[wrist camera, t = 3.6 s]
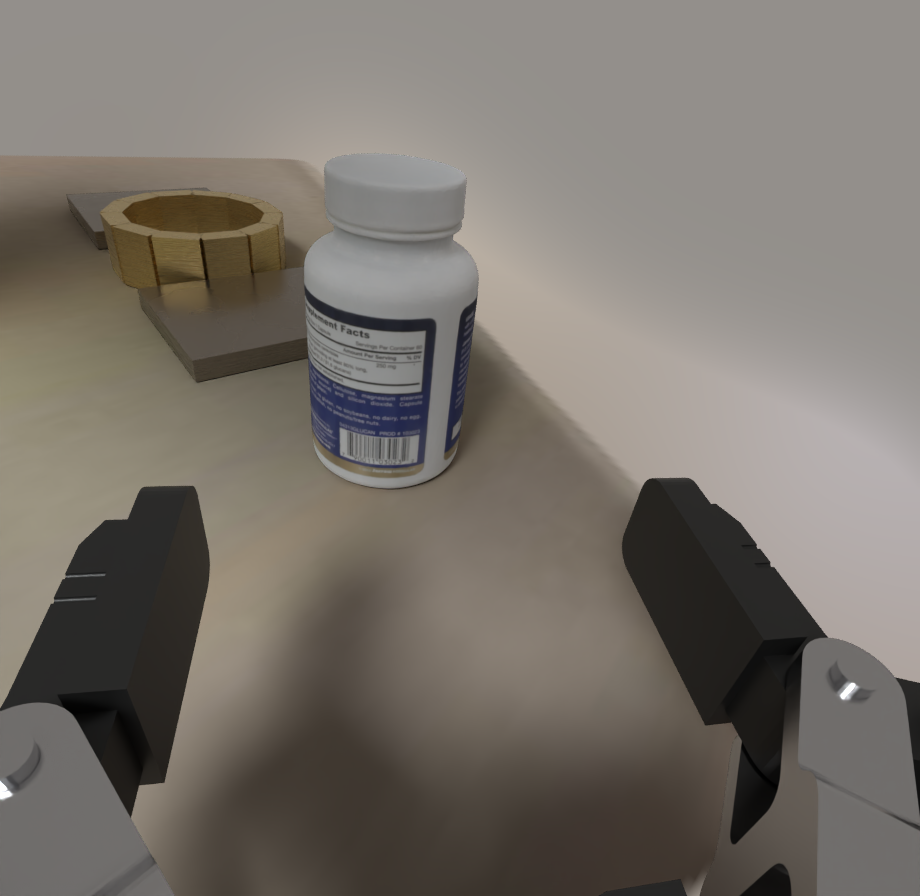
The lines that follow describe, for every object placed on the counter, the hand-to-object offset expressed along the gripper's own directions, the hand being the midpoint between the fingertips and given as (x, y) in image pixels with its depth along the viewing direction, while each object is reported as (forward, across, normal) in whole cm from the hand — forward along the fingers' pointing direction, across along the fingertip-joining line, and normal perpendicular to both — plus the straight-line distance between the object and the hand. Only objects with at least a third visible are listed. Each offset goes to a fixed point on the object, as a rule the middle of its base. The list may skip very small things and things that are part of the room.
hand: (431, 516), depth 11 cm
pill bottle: (+10, 0, +6) cm, 12 cm away
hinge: (+28, +9, +6) cm, 30 cm away
